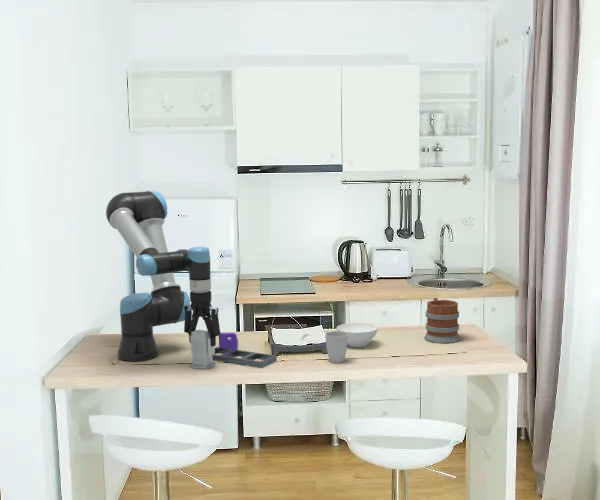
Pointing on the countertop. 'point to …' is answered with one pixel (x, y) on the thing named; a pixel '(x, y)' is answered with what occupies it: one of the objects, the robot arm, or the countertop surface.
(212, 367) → the coaster
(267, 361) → the dark gray compartment tray
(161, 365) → the countertop surface
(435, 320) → the mug
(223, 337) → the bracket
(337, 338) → the cup
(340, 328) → the bowl
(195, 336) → the skincare box
